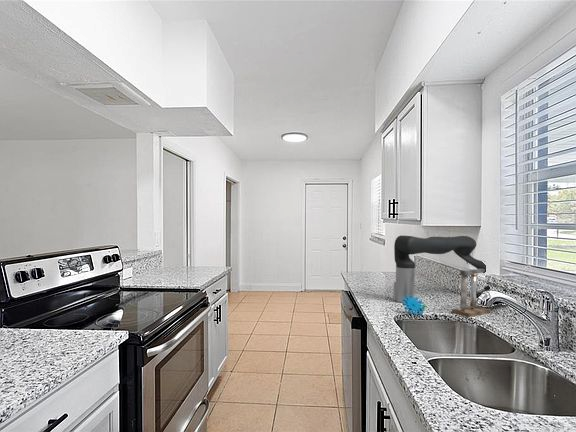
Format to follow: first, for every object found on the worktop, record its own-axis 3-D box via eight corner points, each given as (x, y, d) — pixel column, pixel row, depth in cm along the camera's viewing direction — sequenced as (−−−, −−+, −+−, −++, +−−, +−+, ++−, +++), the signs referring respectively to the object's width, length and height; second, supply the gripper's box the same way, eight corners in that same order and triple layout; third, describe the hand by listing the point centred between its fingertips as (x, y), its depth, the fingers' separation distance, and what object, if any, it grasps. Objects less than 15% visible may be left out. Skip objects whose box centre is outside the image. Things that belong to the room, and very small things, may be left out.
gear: (405, 312, 161) (401, 292, 168) (400, 319, 165) (396, 299, 172) (429, 315, 161) (425, 296, 169) (424, 322, 166) (419, 303, 173)
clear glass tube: (471, 306, 172) (472, 273, 172) (478, 308, 170) (479, 274, 170) (467, 307, 171) (468, 273, 171) (474, 309, 168) (475, 274, 168)
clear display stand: (473, 308, 177) (474, 267, 177) (489, 312, 171) (491, 270, 171) (451, 312, 168) (452, 269, 168) (468, 317, 161) (469, 272, 161)
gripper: (481, 282, 186) (461, 285, 176) (509, 287, 175) (489, 290, 165) (481, 297, 186) (461, 301, 176) (509, 303, 175) (488, 307, 165)
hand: (474, 295), depth 171 cm, fingers closed
